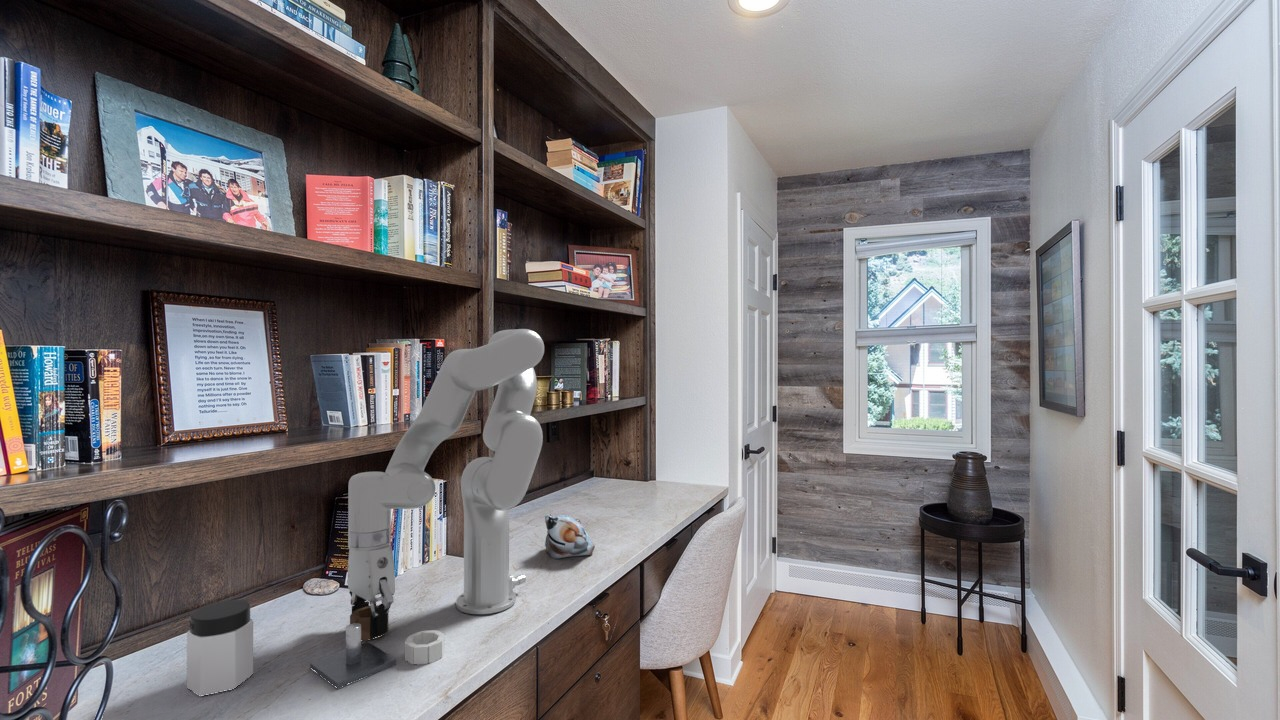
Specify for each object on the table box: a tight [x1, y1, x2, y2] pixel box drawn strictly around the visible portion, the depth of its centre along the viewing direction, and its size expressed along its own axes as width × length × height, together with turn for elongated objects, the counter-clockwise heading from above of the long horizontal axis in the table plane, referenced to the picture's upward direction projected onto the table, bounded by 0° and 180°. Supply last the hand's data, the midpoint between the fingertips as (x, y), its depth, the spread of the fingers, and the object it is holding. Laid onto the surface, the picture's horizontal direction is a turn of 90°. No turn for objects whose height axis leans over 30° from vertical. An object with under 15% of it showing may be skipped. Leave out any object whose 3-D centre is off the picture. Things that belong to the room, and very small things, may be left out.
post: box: [309, 623, 397, 689], centre depth 103 cm, size 10×10×7 cm
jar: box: [186, 599, 254, 697], centre depth 98 cm, size 9×8×12 cm
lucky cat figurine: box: [544, 513, 596, 560], centre depth 161 cm, size 15×12×14 cm
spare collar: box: [404, 629, 446, 665], centre depth 107 cm, size 6×6×3 cm
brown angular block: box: [349, 604, 383, 640], centre depth 116 cm, size 6×6×4 cm
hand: (369, 628), depth 116 cm, fingers closed on brown angular block, 6 cm apart
